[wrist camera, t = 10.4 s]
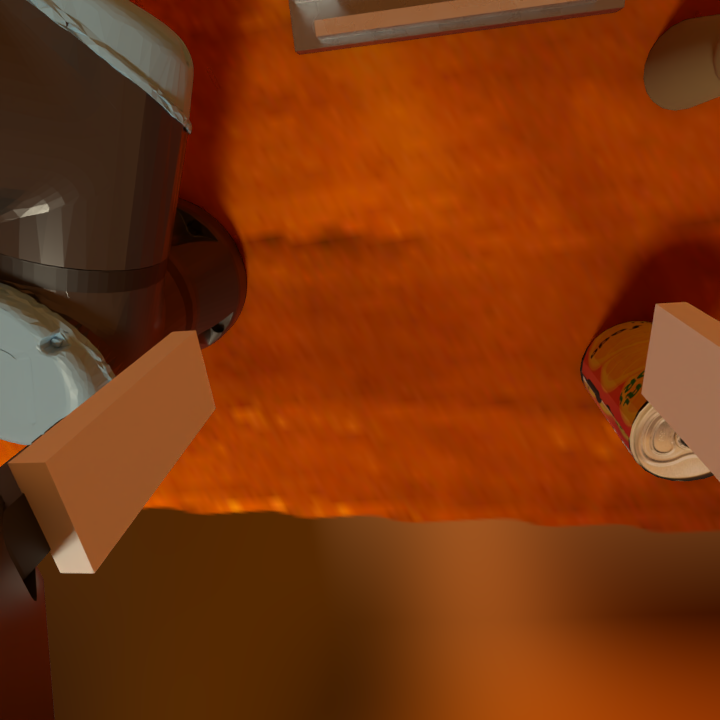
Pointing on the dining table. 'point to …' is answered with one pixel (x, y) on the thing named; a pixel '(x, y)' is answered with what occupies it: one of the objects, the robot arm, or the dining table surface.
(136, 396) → the robot arm
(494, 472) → the dining table surface
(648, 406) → the beverage can
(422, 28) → the tray
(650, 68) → the olive brown waisted cylinder
